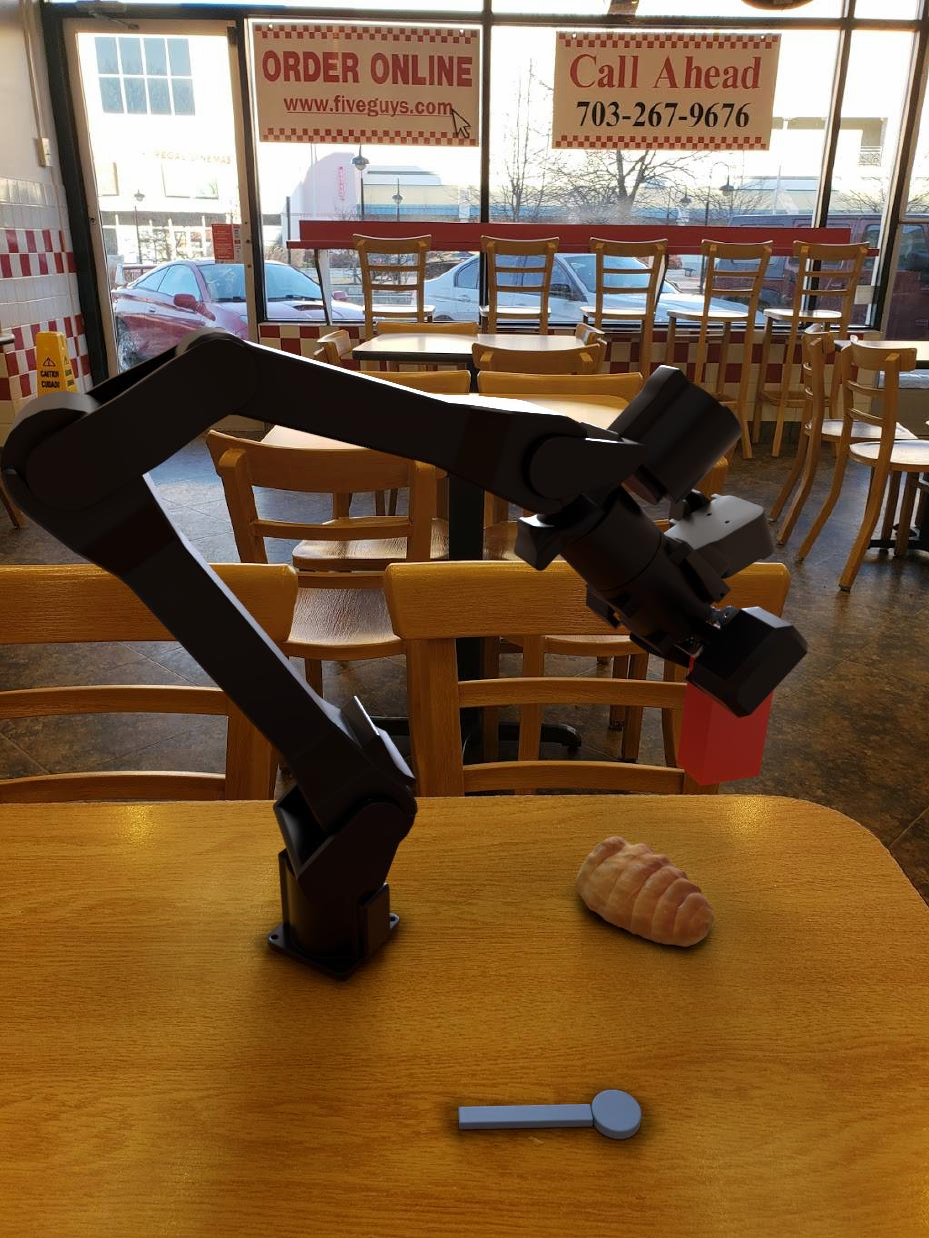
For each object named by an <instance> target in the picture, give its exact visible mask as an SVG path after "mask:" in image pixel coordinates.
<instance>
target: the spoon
mask: <svg viewBox="0 0 929 1238" xmlns="http://www.w3.org/2000/svg"><path fill="white" fill-rule="evenodd" d="M457 1113H458V1129H459V1130H489V1129H490V1130H491V1129H492V1130H493V1129H494V1130H495V1129H534V1128H535V1129H537V1128H541V1129H542V1128H577V1127H578V1128H582V1127H583V1128H584V1127H585V1128H586V1127H593V1125H594V1127H595V1128H596V1130H597V1131H598V1132H599V1133H601V1134H602V1135H604V1136H606V1137H607V1138H610V1139H614V1140H624V1139H628V1138H631V1137H633V1136H634V1135H635V1134H637V1132H638V1131H639V1129H640V1128H641V1122H642V1110H641V1107H640V1105H639V1103H638V1101H637V1100H636V1099H635V1098H634V1097H633V1096H631V1095H630V1094H629V1093H627V1092H624V1091H622V1090H618V1089H606V1090H603V1091H601V1092H600V1093H598V1094H597V1095H596V1096H595V1097H594V1098H593V1100H592V1102H591V1104H590V1103H584V1104H583V1103H582V1104H577V1103H576V1104H539V1105H538V1104H537V1105H536V1104H535V1105H495V1106H494V1105H493V1106H487V1105H486V1106H458V1112H457Z"/></svg>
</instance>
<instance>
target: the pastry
mask: <svg viewBox="0 0 929 1238" xmlns="http://www.w3.org/2000/svg"><path fill="white" fill-rule="evenodd" d="M574 885H575V888H576V891H577V892H578V894H579V895H580V897H581V898H582V899H583V901H584V903H585V905H586V906H587V908H588V909H589V910H590V911H591V912H594V913H597V914H598V915H599V916H601V917H602V919H603V920H604V921H605V922H607V923H610V924H612V925H614V926H616V927H618V928H623V929H624V930H626V931H627V932H629V933H631V934H632V935H633V936H634V935H638V936H641V937H642V938H643V939H647V940H649V941H652V942H653V943H657V944H664V945H674V946H675V945H676V946H680V947H683V948H685V947H690V946H693V945H696V944H697V943H699V942H700V941H701V940H703V939H704V938H706V937H707V935H708V933H709V931H710V929H711V927H712V925H713V923H714V921H715V914H714V912H713V907H712V905H711V904H710V903H709V902H708V900H707V898H705V896H704V895H703V892H702V889H701V887H700V886H699V885H696V884H695V883H693V882H691V880H690V879H689V876H688V875H687V872H685V871H684V870H683V869H679V868H677V867H676V865H675V864H674V863H673V862H672V861H671V860H670V858H669V857H668V856H667V855H666V854H661V853H659V854H656V852H655V850H654V849H653V848H652V847H651V846H650V845H648V844H646V843H644V842H641V843H640V842H639V843H636V844H631V843H629V842H628V841H627V840H625V838H624V837H622V836H616V835H615V836H610V837H608V838H606V839H604V840H602V841H601V842H599V843H597V844H596V846H595V847H594V849H593V850H592V852H590V853H589V854H588V855H587V856H586V858H585V859H584V861H583V863H582V864H581V867H580V868H579V872H578V873H577V876H576V879H575V883H574Z"/></svg>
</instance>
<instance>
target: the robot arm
mask: <svg viewBox="0 0 929 1238" xmlns="http://www.w3.org/2000/svg"><path fill="white" fill-rule="evenodd" d="M229 416H238V417H242V418H247V419H250V420H254V421H257V422H260V423H261V422H262V423H266V424H269V425H274V426H277V427H281V428H285V429H290V430H293V431H297V432H302V433H305V434H309V435H312V436H318V437H321V438H325V439H329V440H332V441H336V442H339V443H340V442H341V443H344V444H349V445H352V446H356V447H360V448H364V449H367V450H372V451H376V452H380V453H384V454H387V455H391V456H395V457H400V458H403V459H407V460H411V461H415V462H420V463H423V464H427V465H431V466H433V467H436V468H438V469H440V470H441V471H444V472H446V473H448V474H450V475H453V476H454V477H457V478H458V479H461V480H463V481H464V482H466V483H469V484H470V485H473V486H475V487H476V488H479V489H481V490H483V491H485V492H487V493H489V494H491V495H493V496H495V497H497V498H500V499H501V500H503V501H506V502H508V503H509V504H510V503H511V504H513V505H515V506H516V507H518V508H521V509H523V510H526V511H528V512H530V513H533V514H535V515H533V516H530V517H519V518H518V519H516V527H517V533H516V536H515V540H514V548H513V554H514V555H515V556H516V557H517V558H519V559H520V560H521V561H523V562H525V563H526V564H528V565H529V566H530V567H532V568H533V569H535V570H536V571H538V572H542V571H545V570H546V569H547V568H548V567H549V566H550V564H551V563H553V561H554V560H555V559H556V558H557V557H558V556H560V557H561V558H562V559H563V560H564V561H565V562H566V563H567V565H569V566H570V567H571V569H573V570H574V571H575V572H576V573H577V574H578V575H579V576H580V577H581V578H582V579H583V580H584V581H585V582H586V583H585V585H584V587H585V588H586V593H585V594H586V595H585V606H586V607H587V608H588V609H590V611H591V612H593V614H594V615H596V617H597V618H598V619H600V620H601V621H602V622H604V623H605V624H606V625H608V626H609V627H611V628H612V629H613V630H615V631H617V630H618V629H619V628H620V627H621V626H623V627H624V628H625V629H627V631H629V632H630V633H629V635H628V638H629V640H630V641H631V642H632V643H633V644H635V645H636V646H637V647H639V648H640V649H642V650H643V651H645V652H646V653H648V654H650V655H653V656H655V657H658V658H660V659H662V660H665V661H668V662H671V663H673V664H676V665H678V666H681V667H683V668H686V669H688V670H689V663H690V656H692V657H693V658H696V659H695V660H694V662H693V670H692V671H691V672H690V673H689V674H688V673H687V675H686V676H685V677H684V680H685V681H686V682H687V681H688V682H689V683H691V684H692V685H694V686H695V687H696V688H698V689H699V690H701V691H702V692H703V693H705V694H707V695H708V696H709V697H711V698H712V699H713V700H714V701H715V702H717V703H718V704H720V705H721V706H722V707H724V708H725V709H727V710H728V711H729V712H731V713H732V714H734V715H735V716H736V717H738V718H741V717H745V716H749V715H751V714H752V713H753V712H754V711H755V710H756V709H757V707H758V706H759V705H760V704H761V703H762V702H763V701H764V700H765V699H766V698H767V697H768V696H769V694H770V693H771V692H772V691H773V690H775V689H776V688H777V687H778V686H779V685H780V683H781V682H783V680H784V679H786V677H787V676H788V675H789V674H790V673H791V672H792V671H793V669H794V668H795V667H796V666H797V665H798V664H799V663H800V662H801V661H802V660H803V659H804V658H805V657H806V655H807V654H808V653H809V652H808V651H809V650H808V649H809V648H808V647H809V645H808V643H809V642H808V641H807V640H806V639H805V638H804V636H803V635H802V634H801V632H800V631H799V630H798V629H797V628H796V626H794V625H793V624H791V623H790V622H788V621H786V620H784V619H783V618H780V617H779V616H777V615H775V614H773V613H771V612H769V611H767V610H765V609H763V608H762V607H760V606H753V607H746V608H745V607H744V608H740V609H739V608H737V607H735V606H733V605H728V606H725V607H723V608H722V609H718V608H716V607H715V606H712V605H713V604H714V603H716V604H720V603H721V602H722V601H723V600H724V598H726V597H727V596H728V595H729V593H730V592H731V591H732V589H731V587H730V586H729V585H728V584H727V583H726V581H725V580H726V579H729V578H732V577H733V576H735V575H736V574H738V573H740V572H742V571H743V570H744V569H747V568H748V567H750V566H752V565H753V564H755V563H756V562H758V561H760V560H763V561H765V560H766V559H768V558H769V557H771V556H772V555H773V554H774V553H775V550H776V549H775V544H774V540H773V537H772V533H771V529H770V526H769V523H768V519H767V515H766V512H765V508H764V507H762V506H761V505H759V504H756V503H753V502H750V501H748V500H745V499H743V498H740V497H737V496H734V495H724V496H723V495H721V494H717V493H714V494H712V495H711V496H710V497H711V500H710V499H709V497H707V496H706V495H705V494H704V493H702V492H701V491H698V490H696V489H695V488H696V487H697V486H698V485H699V483H700V482H701V481H702V480H703V479H705V477H706V476H707V475H708V473H709V472H711V470H712V469H713V468H714V467H715V466H716V465H717V463H719V461H720V460H721V459H722V458H723V457H724V456H725V455H726V454H727V453H728V451H729V450H731V448H732V447H733V446H734V445H735V444H736V443H737V442H738V440H740V438H741V437H742V435H743V428H742V426H741V423H740V421H739V419H738V418H737V417H736V415H735V413H734V412H733V411H732V410H731V408H729V407H728V406H727V405H726V404H723V403H720V402H719V401H718V400H717V399H716V398H715V397H714V396H713V395H711V393H710V392H708V391H706V390H705V389H703V387H701V386H700V385H697V384H696V383H695V382H692V381H691V380H690V379H689V378H688V377H687V375H686V374H685V373H684V372H683V370H682V369H681V368H676V367H672V366H667V365H659V367H658V368H656V370H655V371H654V372H653V373H652V374H651V375H649V378H648V379H647V380H646V381H645V383H644V385H643V386H642V389H641V390H640V391H639V393H638V394H637V395H636V396H635V397H634V398H633V399H632V400H631V401H630V403H628V404H627V405H626V407H625V408H624V409H623V410H622V411H621V412H620V413H619V414H618V415H617V417H616V418H615V419H614V420H613V421H612V422H611V424H609V426H608V427H607V428H604V427H600V426H597V425H595V424H592V423H589V422H585V421H581V422H580V421H578V420H575V419H574V418H572V417H570V416H567V415H566V414H562V413H559V412H556V411H554V410H552V409H548V408H545V407H542V406H540V405H536V404H535V403H534V404H533V403H531V402H527V401H524V400H519V399H511V398H500V397H491V396H490V397H489V396H478V395H446V394H437V393H436V394H435V393H429V392H424V391H422V390H417V389H414V388H411V387H407V386H404V385H400V384H397V383H393V382H390V381H387V380H384V379H381V378H376V377H373V376H369V375H366V374H363V373H359V372H356V371H352V370H350V369H345V368H342V367H338V366H335V365H331V364H328V363H324V362H321V361H319V360H314V359H310V358H307V357H304V356H300V355H298V354H297V355H296V354H293V353H290V352H287V351H284V350H279V349H276V348H272V347H269V346H266V345H262V344H259V343H256V342H252V341H249V340H244V339H242V338H241V337H239V336H237V335H236V334H234V333H232V332H231V331H228V330H226V329H224V328H221V327H214V326H204V327H201V328H196V329H193V330H192V331H190V332H189V333H187V334H186V335H184V336H183V337H182V338H181V339H180V341H179V342H177V343H176V344H173V345H172V346H170V347H169V348H167V349H165V350H163V351H161V352H160V353H157V354H155V355H153V356H151V357H149V358H147V359H145V360H143V361H141V362H139V363H137V364H135V365H133V366H131V367H128V368H127V369H125V370H123V371H120V372H119V373H116V374H114V375H113V376H111V377H109V378H107V379H105V380H104V381H101V383H98V384H97V385H95V386H93V387H92V388H90V389H89V390H86V391H85V392H83V393H80V392H75V391H69V390H59V391H51V392H46V393H43V394H41V395H39V396H37V397H34V398H33V399H31V400H29V401H28V402H27V403H26V404H24V406H22V408H21V409H20V410H19V411H18V412H17V413H16V416H15V418H14V420H13V422H12V423H11V426H10V429H9V431H8V433H7V436H6V438H5V441H4V443H3V446H2V449H1V454H0V455H1V456H0V479H1V482H2V485H3V487H4V491H5V492H6V494H7V496H8V497H9V498H10V500H11V501H12V503H13V505H14V506H15V507H16V508H17V509H18V510H19V511H20V512H22V514H24V515H25V516H26V517H27V518H29V519H30V520H32V521H33V522H34V523H35V524H37V525H38V526H39V527H41V528H42V529H43V530H45V532H47V533H48V534H49V535H51V536H52V537H53V538H54V539H56V541H59V542H60V544H62V545H63V546H65V547H66V548H68V550H69V551H72V552H73V553H74V554H75V555H77V556H80V557H81V558H82V559H84V560H86V561H88V562H89V563H91V564H93V565H95V566H97V567H98V568H99V569H102V570H103V571H105V572H107V573H108V574H111V575H112V576H114V577H116V578H117V579H118V580H120V581H121V582H122V583H124V584H125V585H126V586H127V587H129V589H130V590H131V591H132V592H133V593H134V594H135V595H136V597H138V599H139V600H140V602H142V603H143V604H144V606H145V607H147V609H148V610H149V611H150V612H151V614H153V615H154V617H156V619H157V620H158V621H159V622H160V623H161V625H163V627H164V628H165V629H166V630H167V631H168V632H169V633H170V635H172V636H173V638H174V639H175V640H176V641H177V642H178V643H179V644H180V645H181V646H182V647H183V649H184V650H185V651H186V652H187V653H188V654H189V655H190V656H191V658H192V659H193V660H194V661H195V662H196V663H197V664H198V665H199V667H201V669H202V670H204V672H205V673H206V674H207V675H208V677H209V678H211V680H212V681H213V682H214V684H216V685H217V686H218V687H219V688H220V690H221V691H222V692H223V693H224V694H225V696H227V698H229V700H230V701H231V702H232V703H233V704H234V705H235V707H237V708H238V710H239V711H240V712H241V713H242V714H243V715H244V716H245V717H246V718H247V719H248V721H249V722H250V723H251V724H252V726H254V728H256V729H257V731H258V733H260V734H261V735H262V736H263V737H264V739H265V740H266V741H267V742H268V743H269V744H270V745H271V746H272V747H273V748H274V749H275V751H276V752H277V753H278V754H279V755H280V756H281V758H282V759H283V761H284V763H285V765H286V766H287V768H288V770H289V773H290V774H291V776H292V778H293V779H294V781H293V783H292V784H290V786H289V787H288V788H287V789H286V790H285V791H284V792H283V793H282V795H280V796H279V798H278V799H276V801H275V802H274V803H273V804H272V811H273V813H274V816H275V820H276V823H277V825H278V828H279V832H280V835H281V836H282V840H283V843H284V848H283V849H282V850H280V851H279V852H278V853H277V862H278V874H279V888H280V889H279V891H280V904H281V905H280V906H281V919H282V923H280V924H279V925H278V926H277V927H276V928H275V929H274V930H272V931H271V932H270V933H269V934H267V936H266V945H267V946H268V947H270V948H272V949H274V950H275V951H278V952H280V953H282V954H284V955H287V956H289V957H290V958H292V959H295V960H297V961H299V962H301V963H303V964H305V965H307V966H309V967H312V968H314V969H316V970H318V971H320V972H322V973H324V974H326V975H328V976H331V977H333V978H335V979H337V980H345V979H347V978H348V977H349V976H350V975H352V973H353V972H355V971H356V969H358V968H359V966H361V965H362V964H363V963H364V962H365V961H366V959H368V958H369V957H370V956H372V955H373V954H374V952H375V951H376V950H378V948H379V947H380V946H382V944H384V942H386V940H388V939H389V937H390V936H391V935H392V934H393V932H394V931H396V930H397V928H398V927H399V926H400V917H399V916H398V915H397V914H394V913H392V912H391V892H390V891H391V890H390V889H391V888H390V884H389V883H387V882H386V880H387V878H388V875H389V873H390V869H391V867H392V865H393V862H394V859H395V857H396V854H397V851H398V848H399V845H400V844H401V842H403V841H404V840H405V838H406V837H408V835H409V833H410V832H411V829H412V828H413V826H414V825H415V819H416V816H417V814H418V812H419V807H418V802H417V799H416V797H415V796H414V794H413V792H412V790H411V789H410V787H409V786H412V785H415V784H416V783H417V782H418V781H417V779H416V777H415V775H414V774H413V772H412V770H411V769H410V767H409V765H408V764H407V763H406V761H405V760H404V758H403V757H402V754H401V752H400V751H399V750H398V748H397V747H396V745H395V744H394V742H393V739H391V737H390V735H389V733H388V732H387V731H385V730H384V729H382V728H379V727H378V726H376V725H375V724H374V722H373V721H372V720H371V718H370V716H369V715H368V712H367V711H366V710H365V708H364V706H363V704H362V703H361V702H360V699H359V698H358V697H357V695H355V696H353V697H351V698H350V700H349V701H347V703H346V704H345V705H343V706H342V708H341V709H340V708H338V707H336V706H335V705H332V704H331V703H329V702H327V701H326V700H324V699H323V698H322V697H321V696H319V695H318V694H317V693H316V692H315V690H314V689H313V688H312V687H311V686H310V684H309V683H308V682H307V680H306V679H305V678H304V677H303V675H301V673H300V672H299V671H298V670H297V669H296V667H295V666H294V665H293V664H292V663H291V662H290V660H289V659H288V658H287V657H286V656H285V654H284V653H283V652H282V650H281V649H280V648H279V647H278V646H277V644H276V643H275V642H274V641H273V640H272V639H271V638H270V636H269V635H268V634H267V632H266V631H265V630H264V629H263V628H262V626H261V625H260V624H259V623H258V622H257V621H256V619H255V618H254V617H253V616H252V614H251V613H250V612H249V611H248V609H246V608H245V606H244V605H243V604H242V603H241V601H240V600H239V599H238V597H237V596H236V595H235V594H234V593H233V592H232V591H231V589H230V587H228V586H227V584H225V582H224V581H223V579H222V578H220V576H219V575H218V574H217V573H216V570H214V569H213V568H212V567H211V565H210V564H209V562H207V560H205V558H204V557H203V556H202V555H201V554H200V552H199V551H198V550H197V548H195V546H194V545H193V544H192V543H191V542H190V540H189V539H188V537H187V536H186V535H185V534H184V533H183V532H182V530H181V529H180V528H179V526H178V525H177V523H176V521H175V520H174V518H173V516H172V514H171V512H170V510H169V509H168V507H167V505H166V503H165V501H164V499H163V497H162V496H161V494H160V492H159V490H158V488H157V486H156V484H155V482H154V481H153V478H152V477H151V475H150V474H149V473H150V471H153V470H154V469H156V468H158V467H159V466H161V465H162V464H163V463H165V462H167V461H168V460H169V459H170V458H171V457H173V456H174V455H175V454H177V453H178V452H179V451H181V450H182V449H183V448H184V447H186V446H187V445H188V444H190V443H191V442H193V440H195V439H196V438H197V437H199V436H200V435H201V434H203V433H204V432H205V431H207V430H208V429H210V427H212V426H214V425H215V424H217V423H219V422H220V421H222V420H224V419H225V418H227V417H229ZM622 484H624V485H625V486H626V487H627V488H628V489H629V490H630V491H632V492H633V493H634V494H635V495H636V496H637V497H639V498H640V499H642V500H643V501H645V502H647V503H648V504H650V505H652V506H658V504H659V503H660V502H661V501H662V500H663V499H666V500H667V501H669V502H670V504H669V512H668V525H669V529H667V530H666V531H665V532H663V531H662V529H661V528H660V527H659V526H658V525H657V524H656V523H655V521H654V520H653V519H652V518H651V517H650V516H649V515H648V514H647V512H646V511H645V510H644V509H643V508H642V507H641V505H640V504H639V503H638V502H637V501H636V500H635V499H634V497H633V496H632V495H630V493H629V492H628V490H627V489H626V488H625V487H624V486H623V485H622ZM615 613H616V614H617V615H618V617H616V616H615ZM773 692H774V691H773Z"/></svg>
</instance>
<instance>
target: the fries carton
mask: <svg viewBox="0 0 929 1238" xmlns="http://www.w3.org/2000/svg"><path fill="white" fill-rule="evenodd" d="M695 659H696V658H693V657H692V656H690V663H689V669H688V671H687V675H688V674H689V673H690V672H691V671H692V670H693V662H694V660H695ZM774 690H775V689H774ZM774 690H773V691H772V692H771V693H770V694H769V696H768V697H767V698H766V699H765V700H764V701H763V702H762V703H761V704H760V705H759V706H758V707H757V709H756V710H755V711H754V712H753V713H752V714H751V715H749V716H745V717H741V718H738V717H736V716H735V715H734V714H732V713H731V712H729V711H728V710H727V709H725V708H724V707H722V706H721V705H720V704H718V703H717V702H715V701H714V700H713V699H712V698H711V697H709V696H708V695H707V694H705V693H703V692H702V691H701V690H699V689H698V688H696V687H695V686H694V685H692V684H691V683H689V682H688V681H687V680H686V688H685V694H684V701H683V702H684V703H683V712H682V718H681V726H680V733H679V734H680V735H679V743H678V751H677V758H676V764H677V765H678V766H679V767H681V769H682V770H683V771H685V773H687V774H688V775H689V776H690V777H691V778H692V779H693V780H694V781H695V782H696V783H697V784H698V785H699V786H701V787H702V786H708V785H714V784H721V783H727V782H731V781H738V780H743V779H748V778H755V777H756V778H757V777H759V776H760V774H761V770H762V769H761V768H762V762H763V756H764V749H765V744H766V739H767V733H768V728H769V727H768V726H769V721H770V714H771V709H772V708H771V707H772V702H773V696H774Z"/></svg>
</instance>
